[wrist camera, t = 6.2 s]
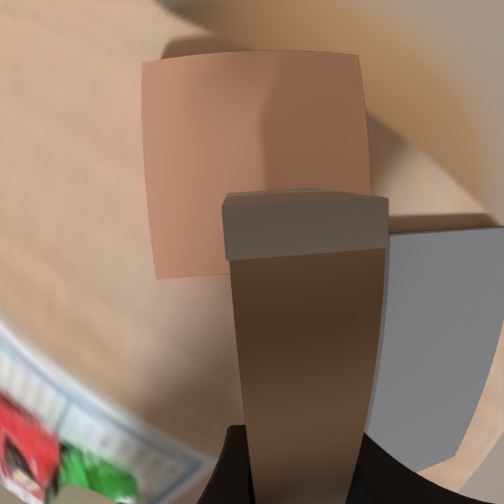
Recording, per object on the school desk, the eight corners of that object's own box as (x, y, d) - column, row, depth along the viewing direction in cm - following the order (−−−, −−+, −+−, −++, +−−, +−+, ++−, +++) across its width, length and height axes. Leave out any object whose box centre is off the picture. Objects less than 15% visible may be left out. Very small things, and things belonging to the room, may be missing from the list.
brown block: (305, 489, 13) (323, 564, 8) (256, 495, 13) (264, 572, 8) (312, 188, 10) (388, 198, 5) (227, 192, 9) (221, 206, 5)
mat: (451, 452, 19) (454, 456, 19) (350, 486, 19) (352, 491, 18) (510, 225, 15) (516, 227, 14) (384, 233, 14) (390, 235, 14)
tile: (371, 261, 13) (358, 55, 11) (156, 279, 13) (141, 63, 11) (353, 250, 15) (342, 70, 13) (166, 265, 15) (153, 77, 13)
